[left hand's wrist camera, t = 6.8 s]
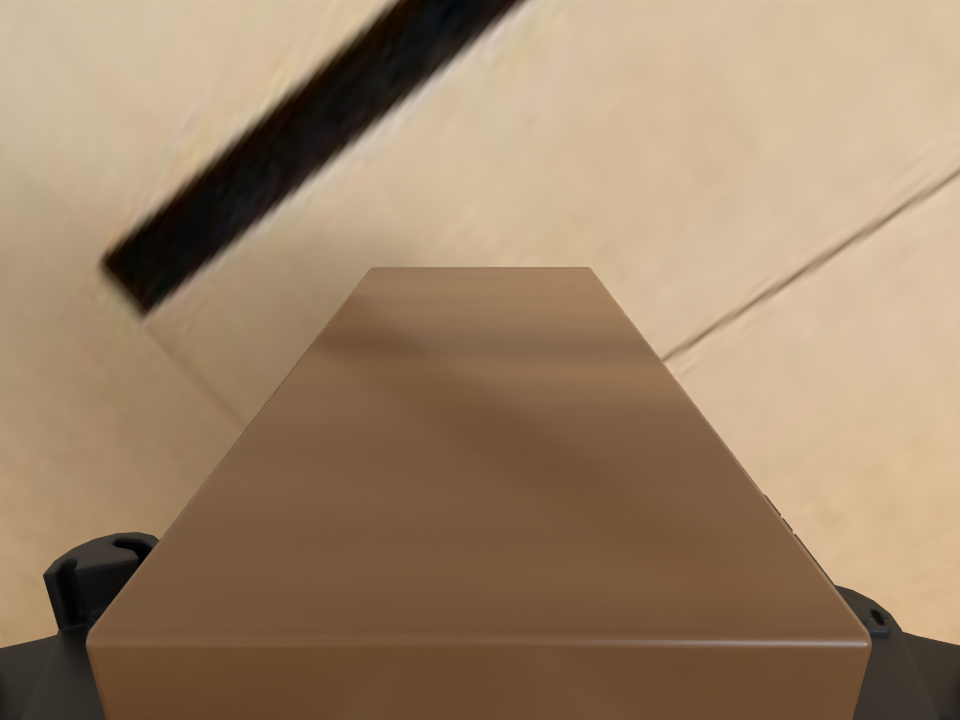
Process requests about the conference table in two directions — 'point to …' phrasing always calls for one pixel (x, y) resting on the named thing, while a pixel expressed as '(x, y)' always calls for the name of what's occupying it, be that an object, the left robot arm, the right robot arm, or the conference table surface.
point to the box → (479, 535)
